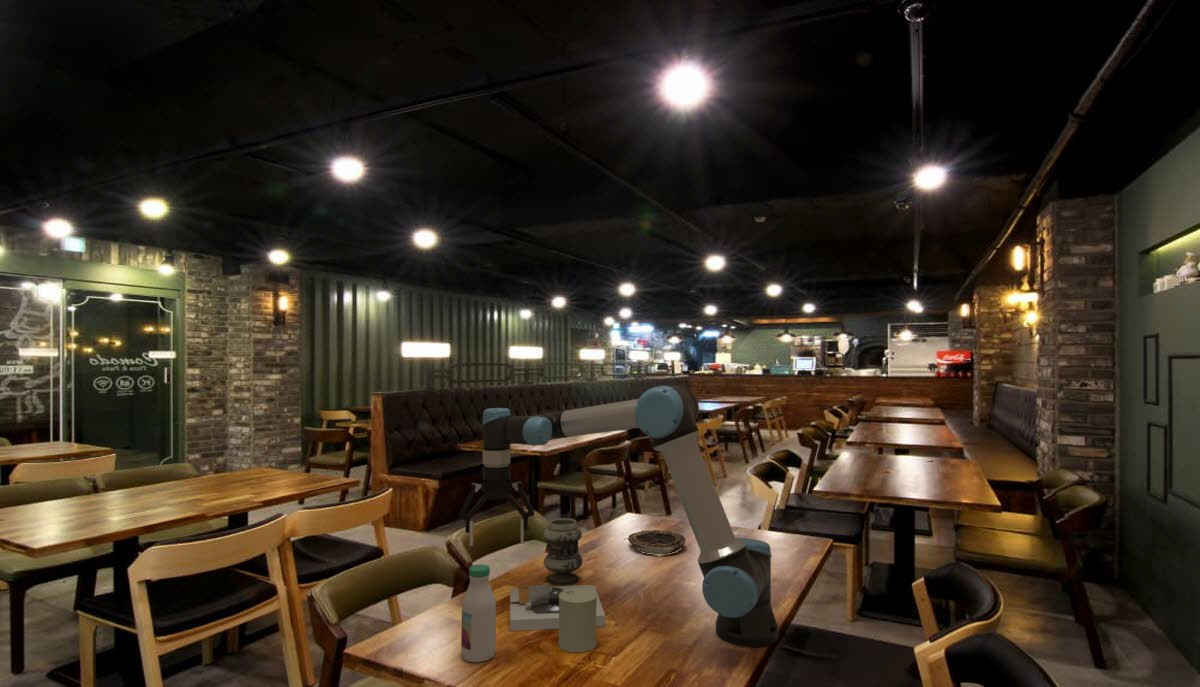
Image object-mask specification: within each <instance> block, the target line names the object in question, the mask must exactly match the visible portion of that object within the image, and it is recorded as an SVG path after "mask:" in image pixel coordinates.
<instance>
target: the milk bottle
mask: <svg viewBox="0 0 1200 687" xmlns="http://www.w3.org/2000/svg"><path fill="white" fill-rule="evenodd" d="M490 572H491V570H490V566H489V565H488V564H483V563H482V564H475V565H471V566H470V567H469V570H468V574H469V576H468V578H469V584H468V587H467V590H466V591H465V594H464V597H463V599H462V606H461V637H460V638H461V643H460V644H461V646H460V647H461V650H460V651H461V653H460V654H461V657H462V659H463V660H465V661H466V662H470V663H483V662H486V661H489V660H491V659H492V658H494V656H495V655H496V650H497V649H496V646H497V644H496V643H497V641H496V640H497V606H496V598H495V594H494V592H493V589H492V587H491V584H490V581H489V578H490Z"/></svg>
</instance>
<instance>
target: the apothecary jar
mask: <svg viewBox="0 0 1200 687" xmlns="http://www.w3.org/2000/svg"><path fill="white" fill-rule="evenodd" d="M577 523H578V522H577V520H576V519H573V518H567V517H566V518H563V517H562V518H554V519H552V520H550V521H549V523H548V527H547V528H545V530H544V533H543V537H544V539H545V540H546V541H547V555H546V556H545V557H544V559H543V566H544V567H545V568H546V569H547V570H548V571H549V572H551V573H553V574H551V575H549V576H548V577H547V579H546V581H547V582H548V584H551V585H552V586H572V585H575V584H576V583H578V582H579V581H580V577H579V576H578V575H577V574H575V573H573V572H575V571H577V570H579V569H580V568H581V567H582V566H583V557H582V556H581V554H580V553H579V540H581V538H582V537H583V531H582V529H581V528H580V527H578V524H577Z"/></svg>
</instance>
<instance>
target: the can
mask: <svg viewBox="0 0 1200 687" xmlns="http://www.w3.org/2000/svg"><path fill="white" fill-rule="evenodd" d="M597 594H598V593H597ZM597 594H596V593H595V592H594V591H592V590H589V589H583V588H574V589H568V590H564V591H562V592H561V593H560V594H559V629H558V642H557V646H558V647H559V649H560V650H563V651H565V652H567V653H568V652H569V653H576V654H579V653H586V652H589V651H592V650H594V649H595V648H596V647H597V644H598V642H597V627H596V599H597Z"/></svg>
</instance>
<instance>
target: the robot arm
mask: <svg viewBox="0 0 1200 687" xmlns="http://www.w3.org/2000/svg"><path fill="white" fill-rule="evenodd" d="M699 412H700V404H699V402H698V398H697V396H696V395H695V393H694V392H693V391H692V390H691V389H689V388H687V387H685V386H684V385H680V384H673V385H658V386H654V387H652V388H650V389H647V390H646V391H645V392H643V393H642V394H641V395H640V397H639V398H635V399H629V400H623V401H618V402H617V401H616V402H612V403H605V404H604V403H603V404H600V405H598V404H597V405H593V406H588V407H581V408H580V407H579V408H573V409H567V410H563V411H562V410H561V411H553V412H549V413H543V414H536V415H529V416H528V415H527V416H523V415H522V416H520V415H519V416H518V415H517V416H514V415H512V414H511V410H510V409H509V408H505V407H493V408H486V409H485V410H484V411H483V412H482V424H481V426H482V427H481V428H482V465H484V466H483V467H482V483H480V484H479V483H476V482H472V483H471V484H470V485H471V486H470V492H469V494H468V496H467V497H466V500H465V502H464V504H463V506H462V508H461V510H460V512H459V515H458V519H459V520H464V522H465V534H469V547H473V545H474V519H473V516H475V514H476V513H477V512H479V509H480V508H481V507H482V506H483V505H484V503H486V501H487V500H488V499H489V500H490V501H495V500H501V501H502V500H504V499H506V500H507V501H508V502H509V504H511V506H513V508H514V509H515V510H516V511H517V512H518V514H519V515H521V516H520V544H521V545H522V544H524V543H525V542H524V541H525V540H524V535H525V534H524V531H528V529H529V526H528V524H529V521H528V520H529V518H530V517H534V516H535V511H534V508H533V507H532V505H531V503H530V501H529V499H528V497H527V495H526V493H525V491H524V489H523V483H522V481H521V480H518V481H517V482H513V483H512V481H511V477H512V476H511V467H512V466H510V464H511V445H523V446H525V445H526V446H532V447H535V446H545V445H547V444H548V443H549V441H552V440H559V439H566V438H571V437H577V436H580V437H581V436H587V435H595V434H600V433H601V434H602V433H608V432H615V431H617V432H618V431H625V430H629V429H630V430H631V429H636V428H637V429H638V428H639V430H640V431H641V432H642V433H643V434H644V435H646V436H648V437H649V440H650V443H651V445H652V448H653V450H655V451H657V452H659V453H661V454H662V456H663V459H664V460H665V463H666V465H667V468H668V471H669V473H670V477H671V480H672V482H673V484H674V486H675V489H676V492H677V494H678V497H679V500H680V502H681V505H682V507H683V510H684V512H685V514H686V518H687V519H688V522H689V526H690V527H691V530H692V532H693V535H694V537H695V540H696V543H697V545H698V548H699V549H700V550H699V551H700V552H699V555H698V559H697V564H698V566H699V569H700V571H701V574H702V576H703V580H702V596H703V598H704V601H705V603H706V604H707V606H708V607H709V608H710V609H712V611H714V612H715V613H717V617H716V620H715V634H716V636H717V637H718V638H719V639H720V640H723V641H724V642H727V643H729V644H731V645H735V646H739V647H746V648H763V647H764V648H765V647H768V646H772V645H773V644H775V643H777V642H778V640H779V626H778V622H777V620H776V616H775V614H774V610H773V608H772V607H773V606H772V603H771V602H772V600H771V599H772V594H771V593H772V585H771V584H772V583H771V581H772V579H771V578H772V576H771V575H772V574H771V573H772V563H771V562H772V560H771V559H772V554H771V553H772V552H771V546H770V544H769V543H768V542H766V541H764V540H760V539H755V538H754V539H753V538H748V537H747V538H745V537H736V535H735V534H734V531H733V529H732V527H731V525H730V524H731V523H730V521H729V519H728V517H727V514H726V512H725V509H724V506H723V504H722V501H721V499H720V496H719V495H718V492H717V489H716V486H715V485H714V481H713V479H712V477H711V474H710V472H709V470H708V466H707V464H706V462H705V460H704V457H703V455H702V452H701V450H700V447H699V444H698V442H697V439H698V436H699V433H700V430H699V428H698V425H697V422H696V420H697V418H698V415H699ZM513 488H514V489H515V491H518V494H519V496H520V498H521V500H522V502H523V504H524V506H525V508H526V509H527V511H526V510H525V509H524V508H523V507H522V506H521V505H520V503H519V502H518V501H517V500H516V499H515V498H514V497H513V495H512V494H511V493H510V492H511V491H512V489H513ZM479 490H481V491H482V492H483V495H482V496H481V497H480V499H479V500H478V501H477V502H476V504H475V505H474V506H473V507H472V508H471V510H470V511H469V512H468V513H467V514H466V512H467V510H468V509H469V506H470V504H471V502H472V500H473V498H474V496H475V493H477V492H478V491H479Z"/></svg>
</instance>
